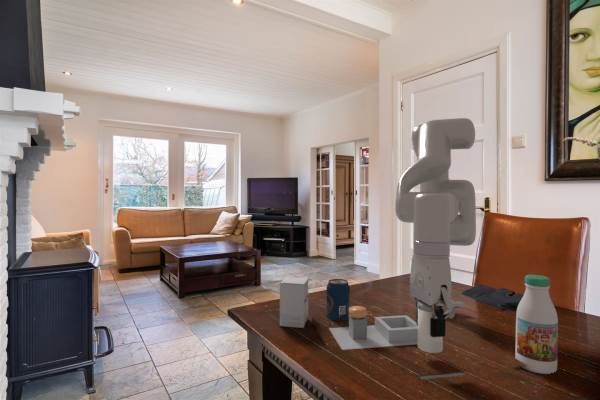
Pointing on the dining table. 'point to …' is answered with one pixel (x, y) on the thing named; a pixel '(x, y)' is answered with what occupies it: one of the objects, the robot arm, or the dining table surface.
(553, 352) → the milk bottle
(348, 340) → the housing
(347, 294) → the soda can
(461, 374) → the mat
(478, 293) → the dark slate chunk
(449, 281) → the robot arm
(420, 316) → the cartridge
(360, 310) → the brown egg
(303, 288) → the supplement box
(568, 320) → the dining table surface
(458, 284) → the dining table surface
